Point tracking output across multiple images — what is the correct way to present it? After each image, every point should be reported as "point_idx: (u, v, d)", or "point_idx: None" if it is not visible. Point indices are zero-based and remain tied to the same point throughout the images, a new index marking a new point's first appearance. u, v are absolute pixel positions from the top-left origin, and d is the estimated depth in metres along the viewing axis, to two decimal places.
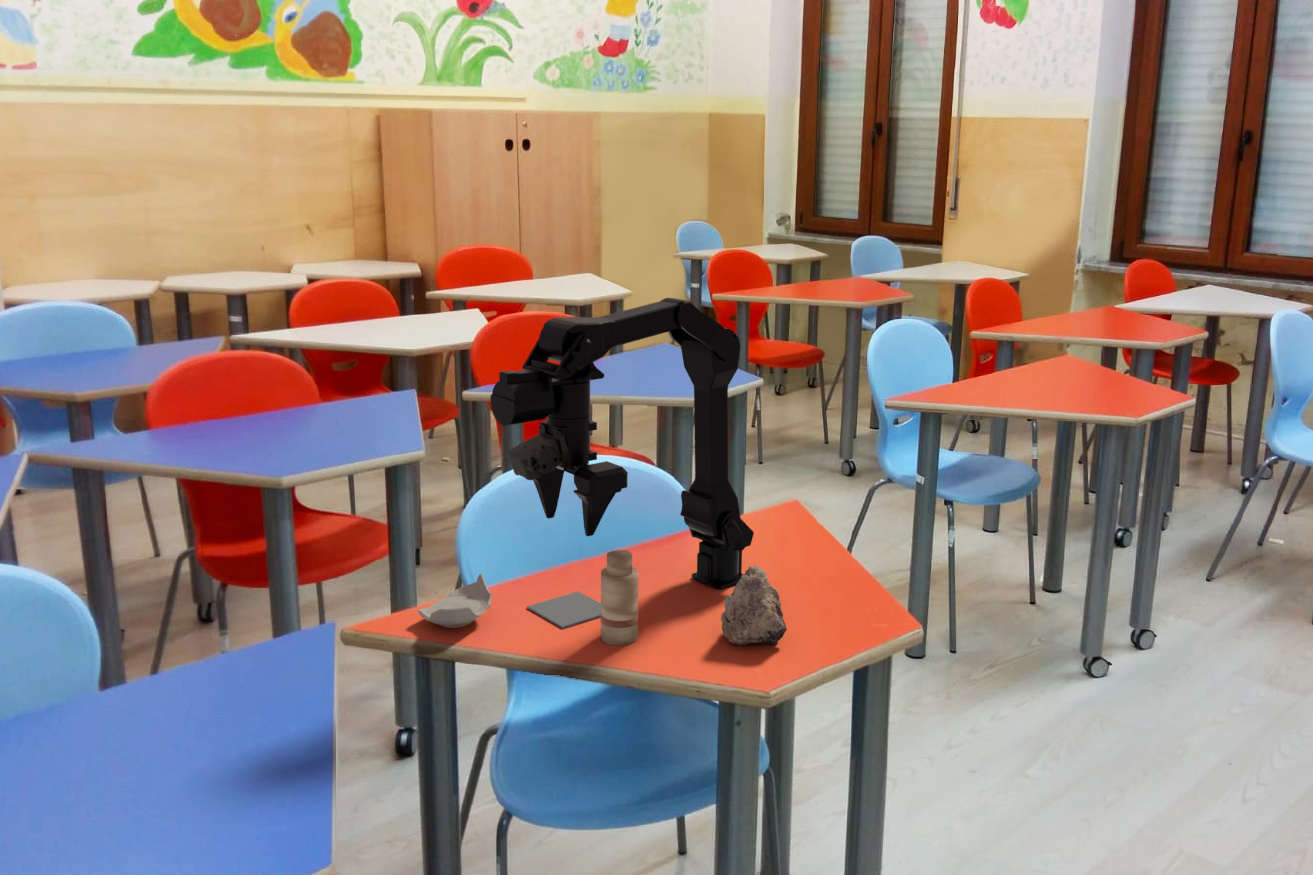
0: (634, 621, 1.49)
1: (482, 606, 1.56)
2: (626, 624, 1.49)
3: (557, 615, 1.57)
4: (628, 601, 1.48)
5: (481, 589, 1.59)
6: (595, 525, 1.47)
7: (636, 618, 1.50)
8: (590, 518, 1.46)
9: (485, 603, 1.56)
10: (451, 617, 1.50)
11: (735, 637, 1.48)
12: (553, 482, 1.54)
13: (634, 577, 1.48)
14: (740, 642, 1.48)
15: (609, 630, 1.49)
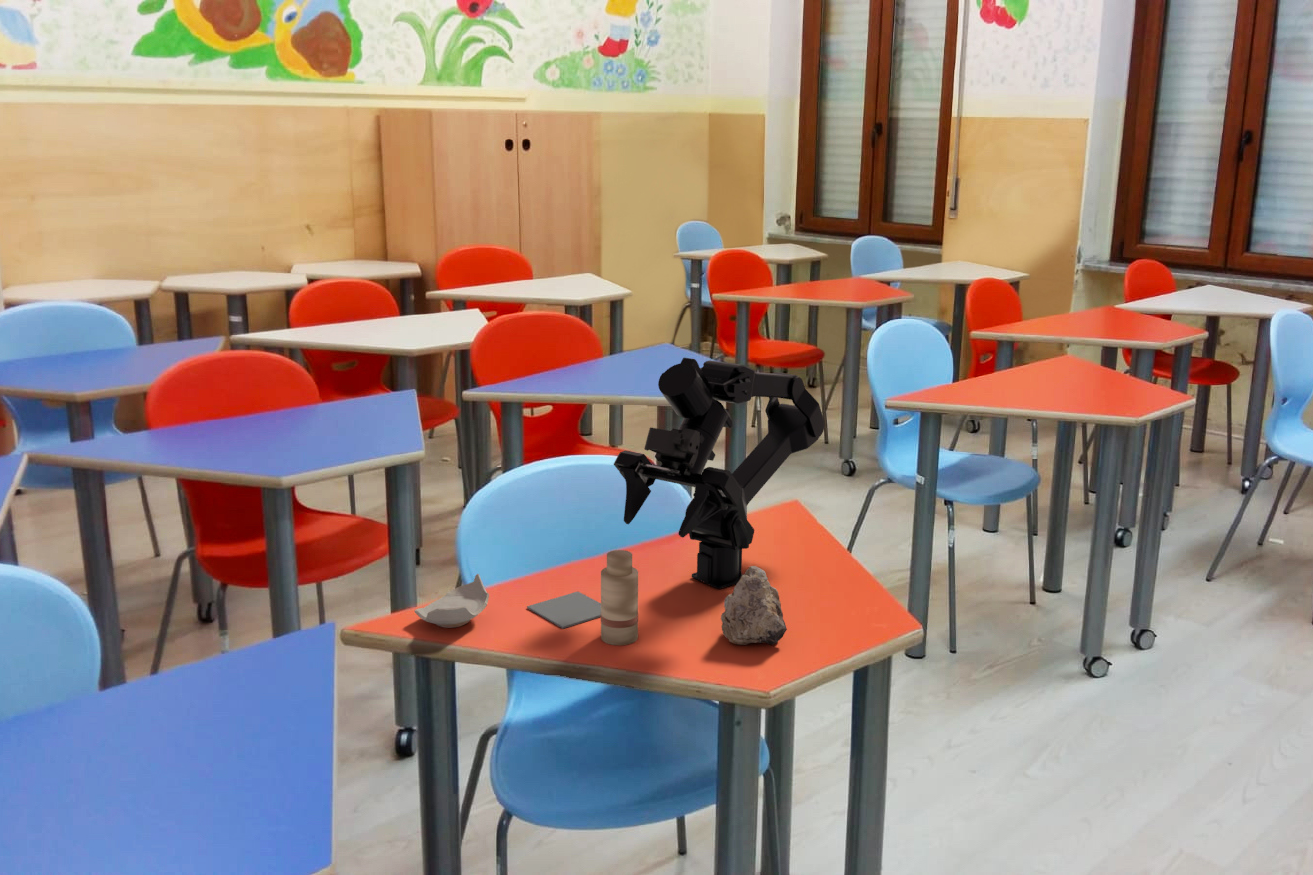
0: (634, 621, 1.49)
1: (479, 606, 1.56)
2: (626, 624, 1.49)
3: (557, 615, 1.57)
4: (628, 601, 1.48)
5: (478, 589, 1.59)
6: (690, 529, 1.52)
7: (636, 618, 1.50)
8: (693, 517, 1.52)
9: (482, 603, 1.56)
10: (447, 617, 1.50)
11: (735, 637, 1.48)
12: (641, 495, 1.59)
13: (634, 577, 1.48)
14: (740, 642, 1.48)
15: (609, 630, 1.49)
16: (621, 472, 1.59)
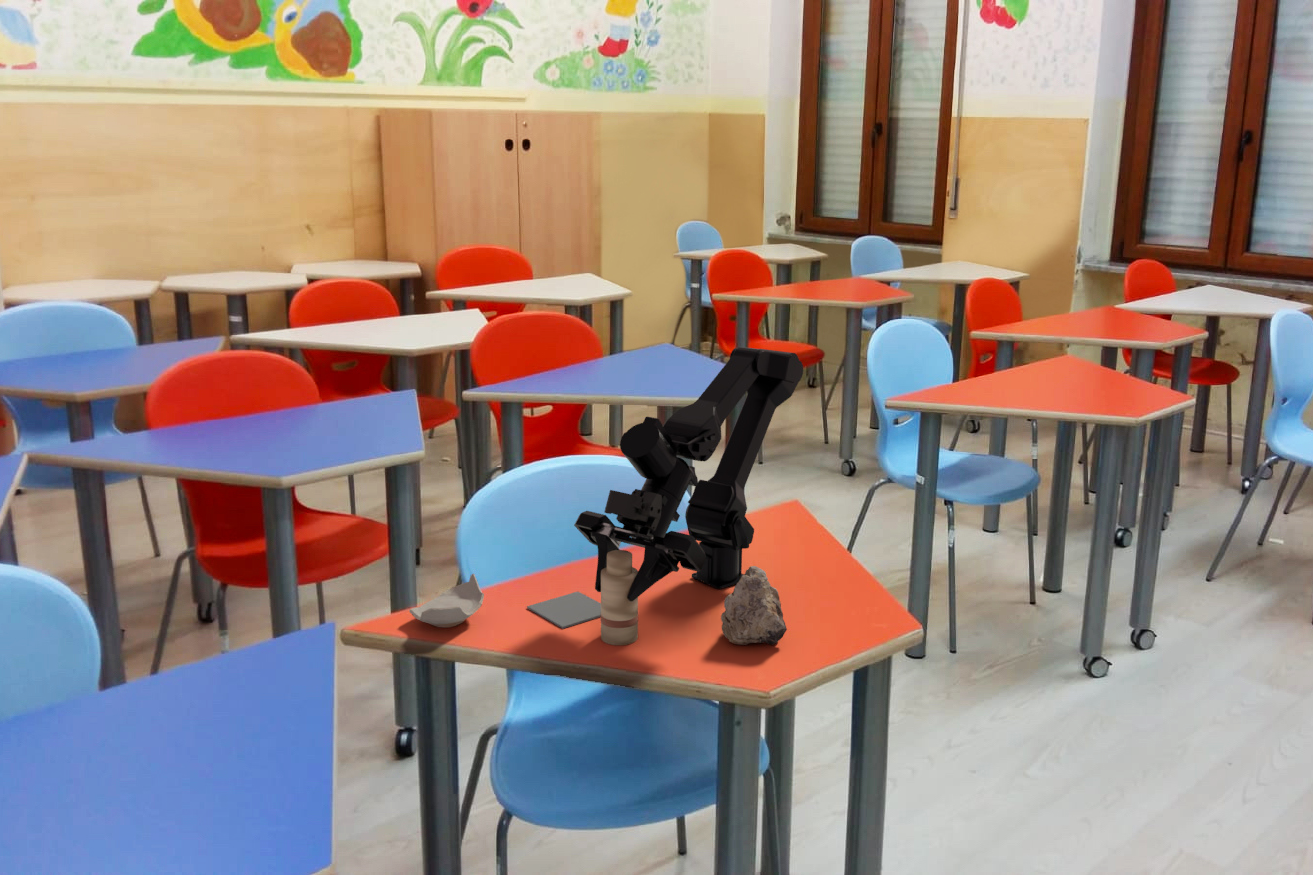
0: (634, 621, 1.49)
1: (474, 605, 1.56)
2: (626, 624, 1.49)
3: (557, 615, 1.57)
4: (628, 601, 1.48)
5: (473, 589, 1.59)
6: (639, 592, 1.48)
7: (636, 618, 1.50)
8: (642, 581, 1.47)
9: (476, 603, 1.56)
10: (441, 617, 1.50)
11: (736, 637, 1.48)
12: None
13: (634, 577, 1.48)
14: (740, 642, 1.48)
15: (608, 630, 1.49)
16: (593, 537, 1.53)
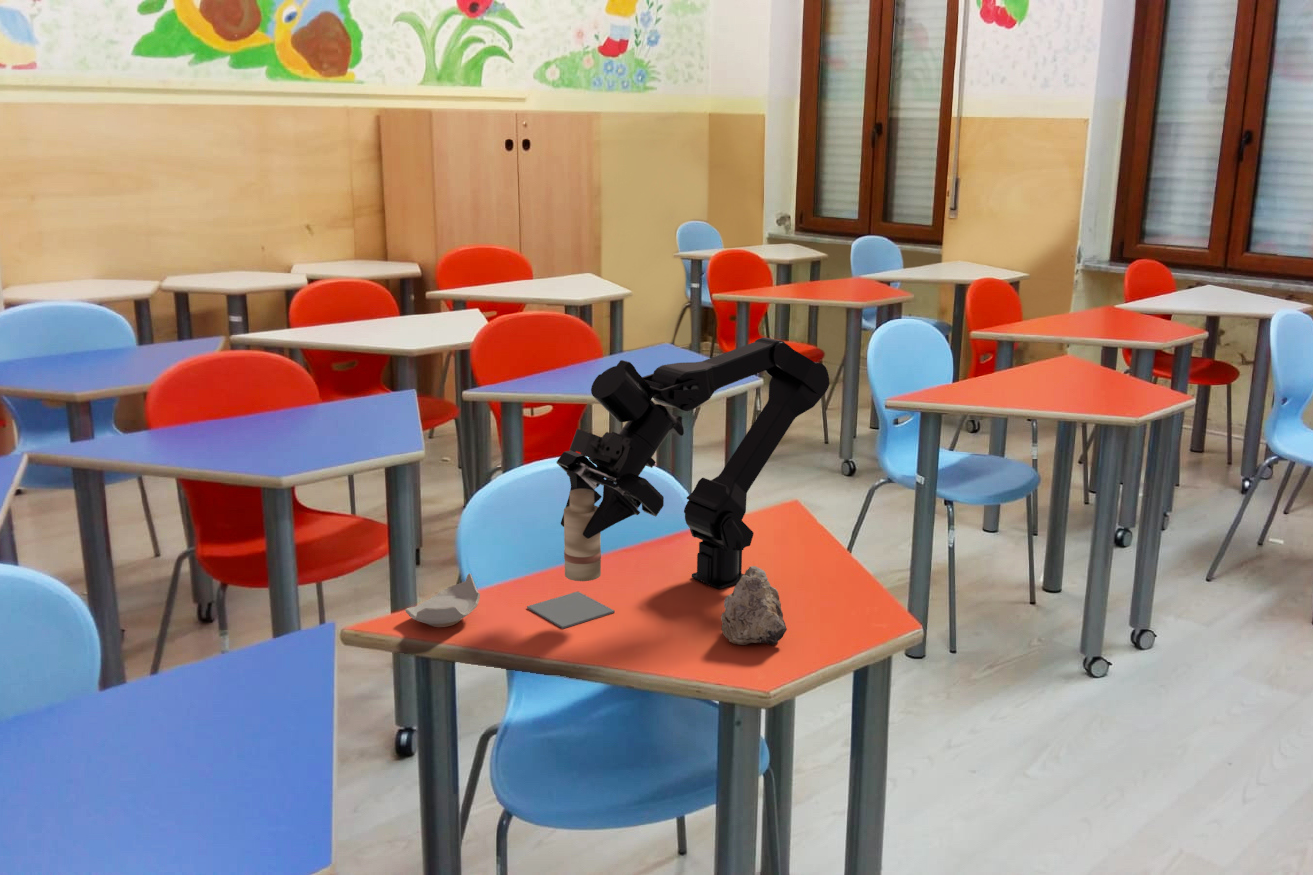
0: (593, 559, 1.52)
1: (470, 605, 1.56)
2: (583, 561, 1.52)
3: (557, 615, 1.57)
4: (585, 538, 1.51)
5: (470, 589, 1.59)
6: (596, 531, 1.51)
7: (595, 556, 1.53)
8: (598, 519, 1.50)
9: (473, 603, 1.56)
10: (437, 617, 1.50)
11: (735, 637, 1.48)
12: None
13: (592, 515, 1.51)
14: (740, 642, 1.48)
15: (568, 565, 1.53)
16: (568, 475, 1.57)
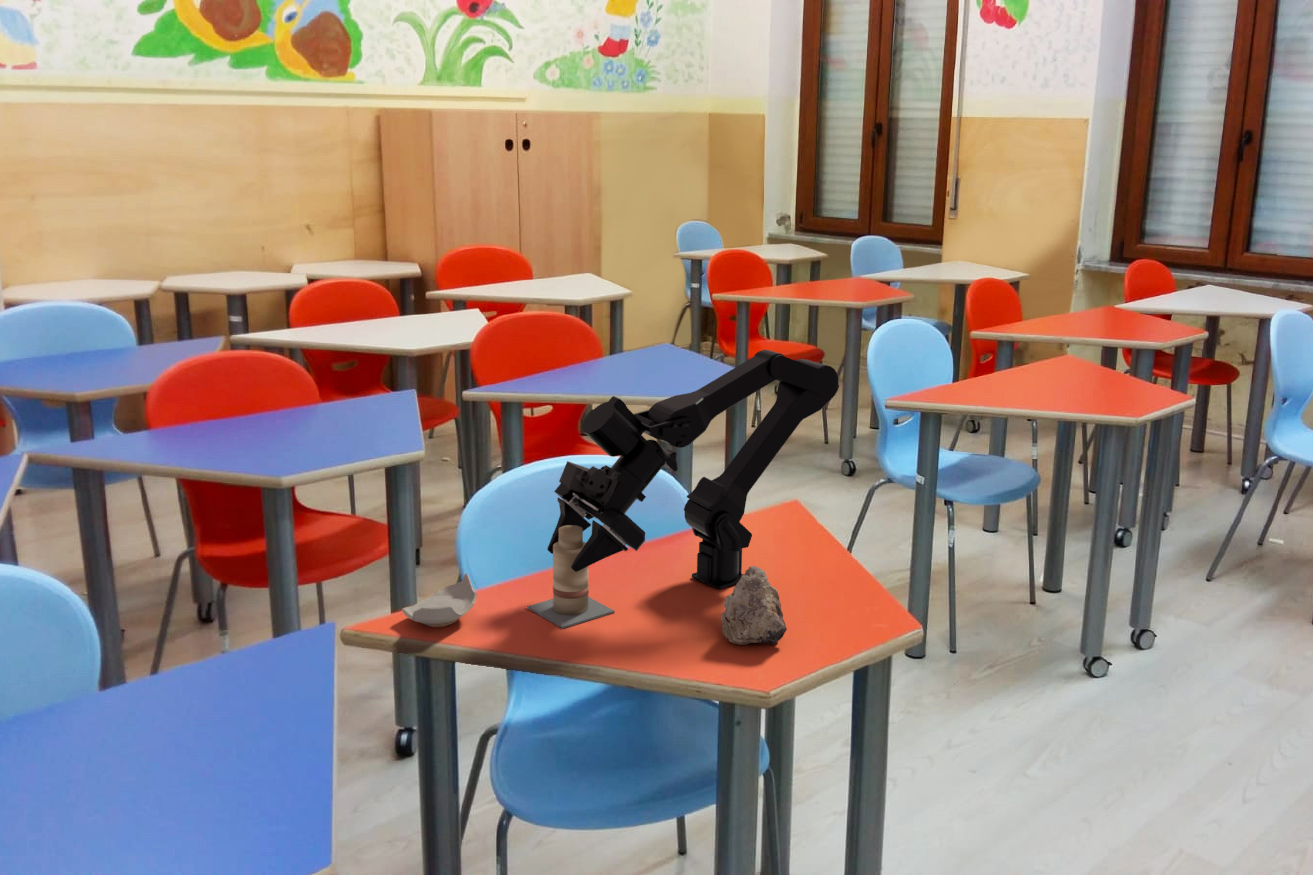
0: (578, 594, 1.57)
1: (466, 605, 1.56)
2: (568, 595, 1.57)
3: (557, 615, 1.57)
4: (571, 574, 1.56)
5: (466, 589, 1.59)
6: (584, 564, 1.54)
7: (581, 592, 1.57)
8: (586, 554, 1.53)
9: (469, 603, 1.56)
10: (433, 616, 1.50)
11: (735, 637, 1.48)
12: None
13: (577, 552, 1.56)
14: (740, 642, 1.48)
15: (555, 599, 1.58)
16: (559, 502, 1.63)
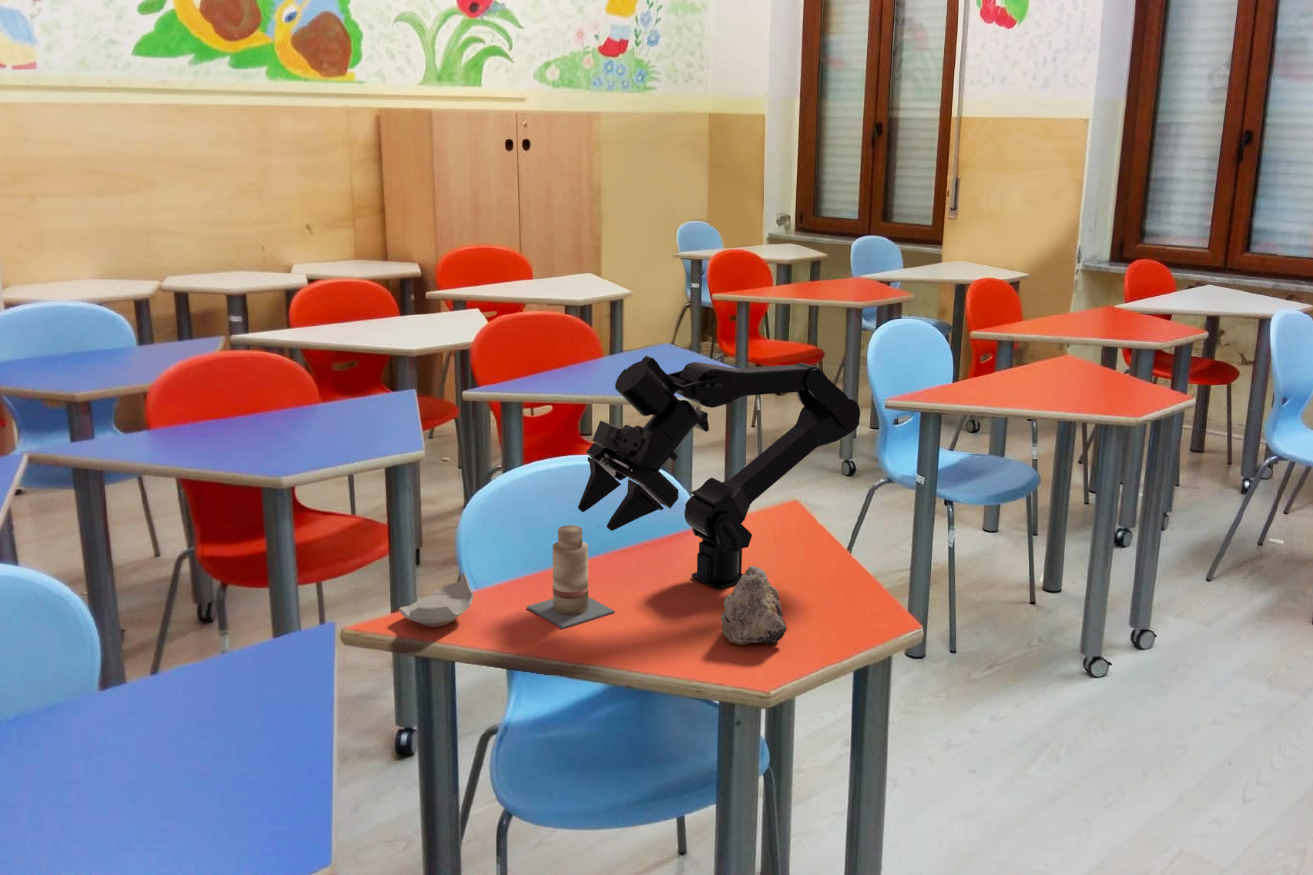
0: (578, 594, 1.57)
1: (463, 605, 1.56)
2: (568, 596, 1.57)
3: (557, 615, 1.57)
4: (570, 574, 1.56)
5: (464, 588, 1.59)
6: (620, 524, 1.55)
7: (581, 592, 1.57)
8: (622, 513, 1.54)
9: (466, 602, 1.56)
10: (429, 616, 1.50)
11: (735, 637, 1.48)
12: (604, 486, 1.64)
13: (577, 552, 1.55)
14: (740, 642, 1.48)
15: (555, 599, 1.58)
16: (589, 462, 1.65)
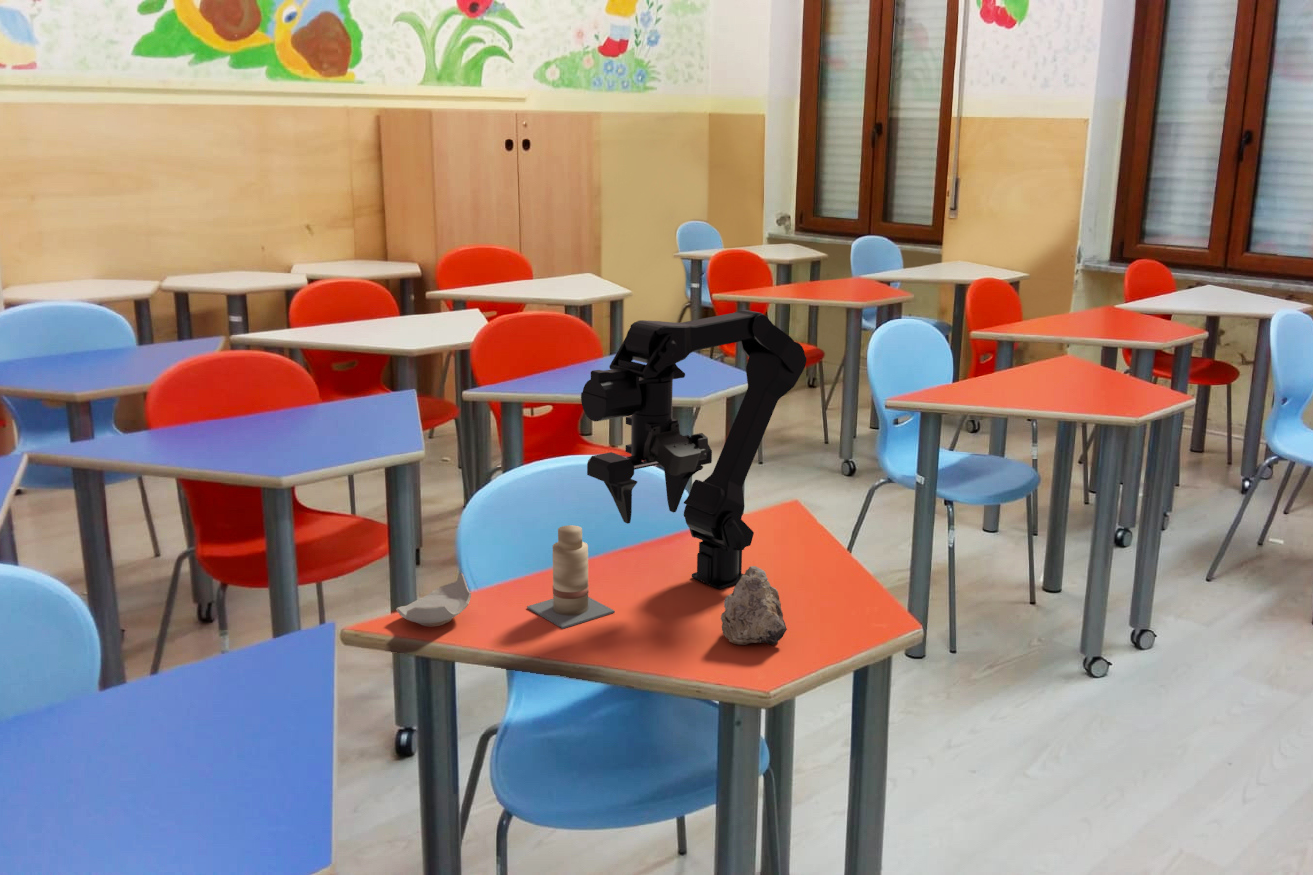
0: (578, 594, 1.57)
1: (461, 605, 1.56)
2: (568, 596, 1.57)
3: (557, 615, 1.57)
4: (570, 574, 1.56)
5: (461, 588, 1.59)
6: None
7: (581, 592, 1.57)
8: None
9: (463, 602, 1.56)
10: (426, 616, 1.50)
11: (735, 637, 1.48)
12: None
13: (577, 552, 1.55)
14: (740, 642, 1.48)
15: (555, 599, 1.58)
16: (620, 486, 1.52)
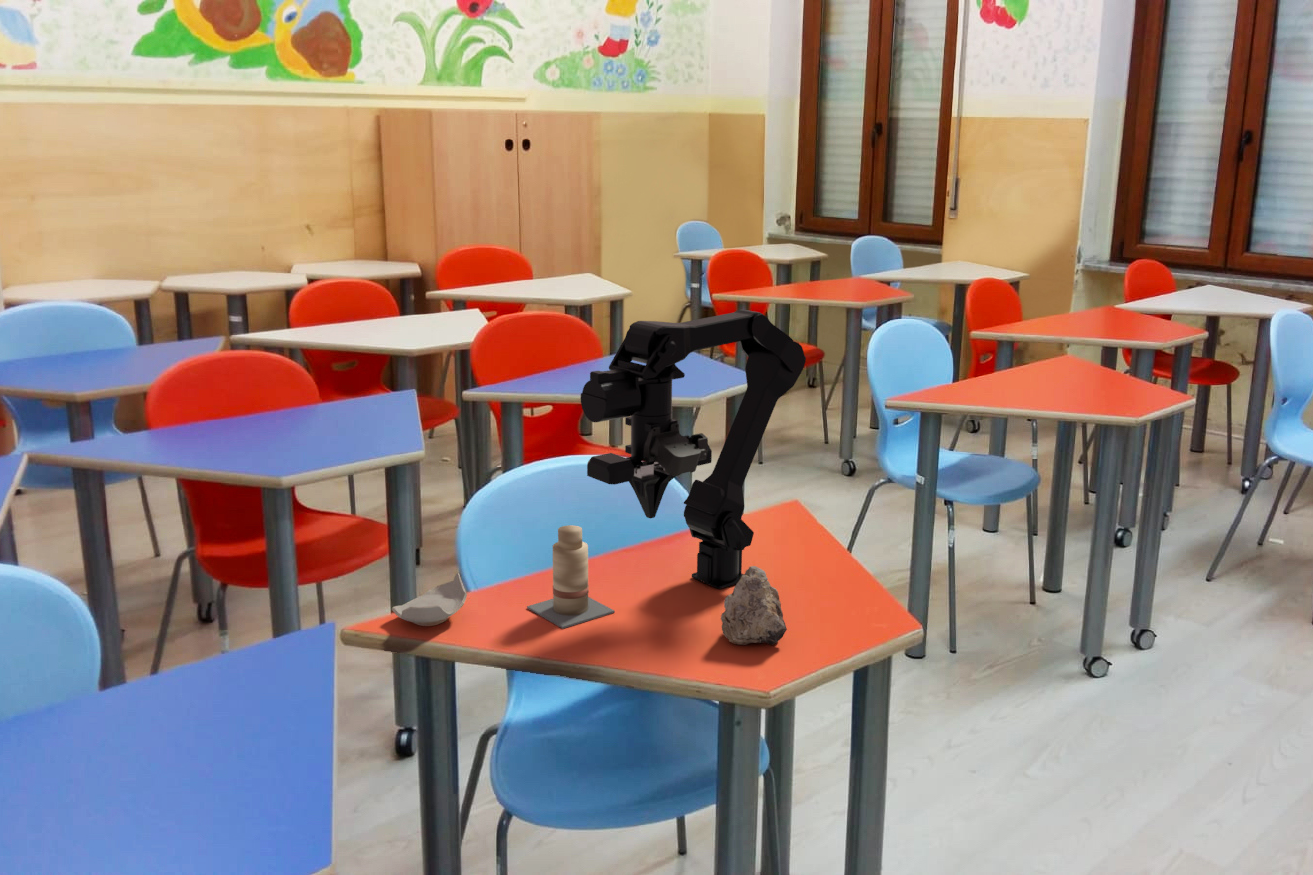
0: (578, 594, 1.57)
1: (456, 605, 1.56)
2: (568, 596, 1.57)
3: (557, 615, 1.57)
4: (570, 574, 1.56)
5: (457, 588, 1.59)
6: None
7: (581, 592, 1.57)
8: None
9: (459, 602, 1.56)
10: (421, 615, 1.51)
11: (735, 637, 1.48)
12: None
13: (577, 552, 1.55)
14: (740, 642, 1.48)
15: (555, 599, 1.58)
16: None
